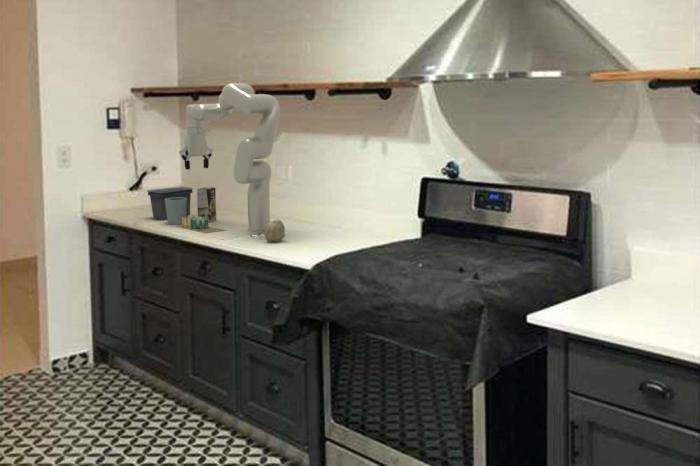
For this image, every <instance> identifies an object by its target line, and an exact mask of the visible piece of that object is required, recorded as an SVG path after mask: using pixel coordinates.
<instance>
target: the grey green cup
mask: <svg viewBox="0 0 700 466" xmlns="http://www.w3.org/2000/svg"><path fill="white" fill-rule="evenodd" d="M186 201H187V198H183V197H176V198H167V199H165V205H166V212H167V218H168V219H166V220H167V224H168V225H172V226H182V218H183V217H186Z"/></svg>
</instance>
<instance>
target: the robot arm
mask: <svg viewBox="0 0 700 466" xmlns="http://www.w3.org/2000/svg"><path fill="white" fill-rule="evenodd" d="M221 91H222V92H221V93H220V95H219V97H218V102H217V103H198V104H194V103H193V104H187V105H186V108H185V110H186V111H185V112H186V115H185V116H186V134H185V135H184V143H183V145H184V146H183V148H182V149H181V150H179V151H178V153H179V155H180V157H181V159H182V160H183V161H184V169H185V170H191V161H190V159H191V157H202V158H203V159H202V160H203V169H209V165H210V161H209V160H210V158H211V157H212V154H213V152H214V149H212V148H211V147H209V146H208V143H207V137H206V134H205V132H206V131H207V128H205V126H204V122H205V121H219V120H222V119H224V118H227V117H229V116H230V115H231V114H232V113H233V110H236V111H239V112H240V113H242V114H244V115H248V116H249V115H250V116H252V115H261V117H260V119H259V120H258V122H257V123H256V126H255V131H254V135H253V136H248V137H245V138H243V139H241V140H240V141H239V143H238V145H237V149H236V152H235V153H236V154H235V159H234V164H233V177H234V180H235V182H237V183H239V184H240V185H247V184H249V186H248V189H247V220H248V221H247V222H248V225H247V226H248V231H252V232H261V233H259V235H263V234H262V233H263V232H264V228H265V226H266V225H267V224H268V223H269V222H271V210H270V208H271V206H270V182H271V177H272V168H271V165H270V164H269V163H268V162H267V161H265V160H263V159H267V158H269V157H270V156H271V155H272V152H273V147H274V143H275V139H276V138H275V137H276V131H277V127H278V124H279V120H280V117H281V106H280V103H279V101H278V100H277V98H276V97H274V96H273V95H270V94H265V93H258V94H256V93H255V91H254V88H253V86H251V85H250V84H248V83H241V82H240V83H239V82H238V83H235V82H231V83H227V84H225V86H224V87H223V88H222V90H221ZM260 159H261V160H260Z"/></svg>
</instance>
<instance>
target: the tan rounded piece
mask: <svg viewBox="0 0 700 466" xmlns="http://www.w3.org/2000/svg"><path fill="white" fill-rule="evenodd" d="M285 227H286V226H285V225H284V222H282V220H280V219H275V220H273V221H272V220H270V222H269V223H268V224H267V225H266V226H265V228H264V231H262V232H261V233H262V234H261V235H263V236H264V238H265V239H266V241H267V242H268V243H279V242H280V241H282V240H283V239H284V238H285V237H286V234H285V232H286V228H285Z"/></svg>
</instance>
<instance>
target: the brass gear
mask: <svg viewBox="0 0 700 466" xmlns="http://www.w3.org/2000/svg"><path fill="white" fill-rule="evenodd" d="M192 216H193V215H192ZM197 217H198V215H195V216H193V218H188V216H187V217H183V218H182V225H181V226H182V227H191V219H196V218H197Z"/></svg>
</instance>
